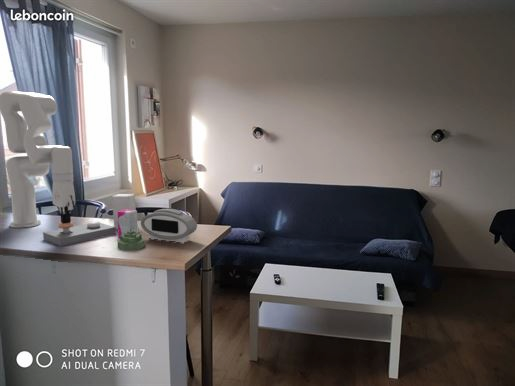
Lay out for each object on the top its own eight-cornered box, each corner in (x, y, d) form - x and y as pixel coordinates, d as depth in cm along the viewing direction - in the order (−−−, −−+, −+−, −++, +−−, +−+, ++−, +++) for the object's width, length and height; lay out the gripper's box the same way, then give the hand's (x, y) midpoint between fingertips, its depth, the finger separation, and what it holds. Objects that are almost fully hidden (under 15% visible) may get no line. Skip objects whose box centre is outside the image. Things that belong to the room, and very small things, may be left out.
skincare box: (137, 227, 189) (136, 194, 187) (130, 231, 183) (129, 196, 180) (120, 226, 191) (118, 193, 188) (112, 229, 184) (111, 195, 182)
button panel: (43, 239, 167) (43, 232, 167) (98, 228, 186) (97, 222, 185) (60, 246, 159) (60, 238, 158) (115, 233, 177) (115, 227, 177)
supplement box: (138, 236, 174) (137, 209, 172) (129, 240, 168) (128, 212, 166) (126, 235, 176) (125, 208, 174) (117, 238, 170) (116, 211, 168)
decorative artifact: (128, 241, 166) (112, 248, 157) (128, 224, 165) (111, 230, 156) (149, 244, 163) (134, 251, 154) (149, 227, 162) (133, 233, 153)
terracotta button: (56, 234, 167) (56, 222, 166) (69, 231, 171) (68, 220, 170) (63, 236, 164) (62, 224, 163) (75, 233, 168) (75, 222, 167)
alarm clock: (140, 238, 171) (139, 208, 169) (149, 235, 177) (149, 205, 175) (189, 245, 163) (189, 213, 161) (197, 241, 168) (197, 210, 166)
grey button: (85, 233, 176) (84, 222, 176) (96, 230, 180) (95, 220, 180) (91, 235, 173) (91, 224, 173) (103, 232, 177) (102, 222, 177)
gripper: (44, 177, 165) (47, 221, 168) (63, 180, 156) (66, 227, 159) (63, 175, 171) (65, 218, 174) (81, 178, 162) (84, 224, 165)
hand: (65, 222), depth 166 cm, fingers closed
